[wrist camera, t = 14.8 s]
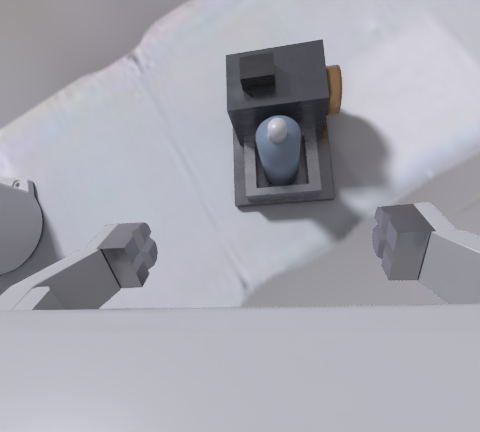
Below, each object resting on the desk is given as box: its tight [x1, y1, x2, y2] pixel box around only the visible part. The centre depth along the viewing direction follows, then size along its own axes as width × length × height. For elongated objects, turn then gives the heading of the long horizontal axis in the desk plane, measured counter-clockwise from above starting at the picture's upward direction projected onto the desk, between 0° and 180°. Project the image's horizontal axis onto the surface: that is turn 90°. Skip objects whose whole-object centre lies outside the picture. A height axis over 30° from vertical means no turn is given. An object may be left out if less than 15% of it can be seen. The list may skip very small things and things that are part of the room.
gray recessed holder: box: [226, 40, 342, 207], centre depth 36 cm, size 15×18×12 cm
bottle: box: [256, 115, 301, 185], centre depth 35 cm, size 5×5×12 cm
